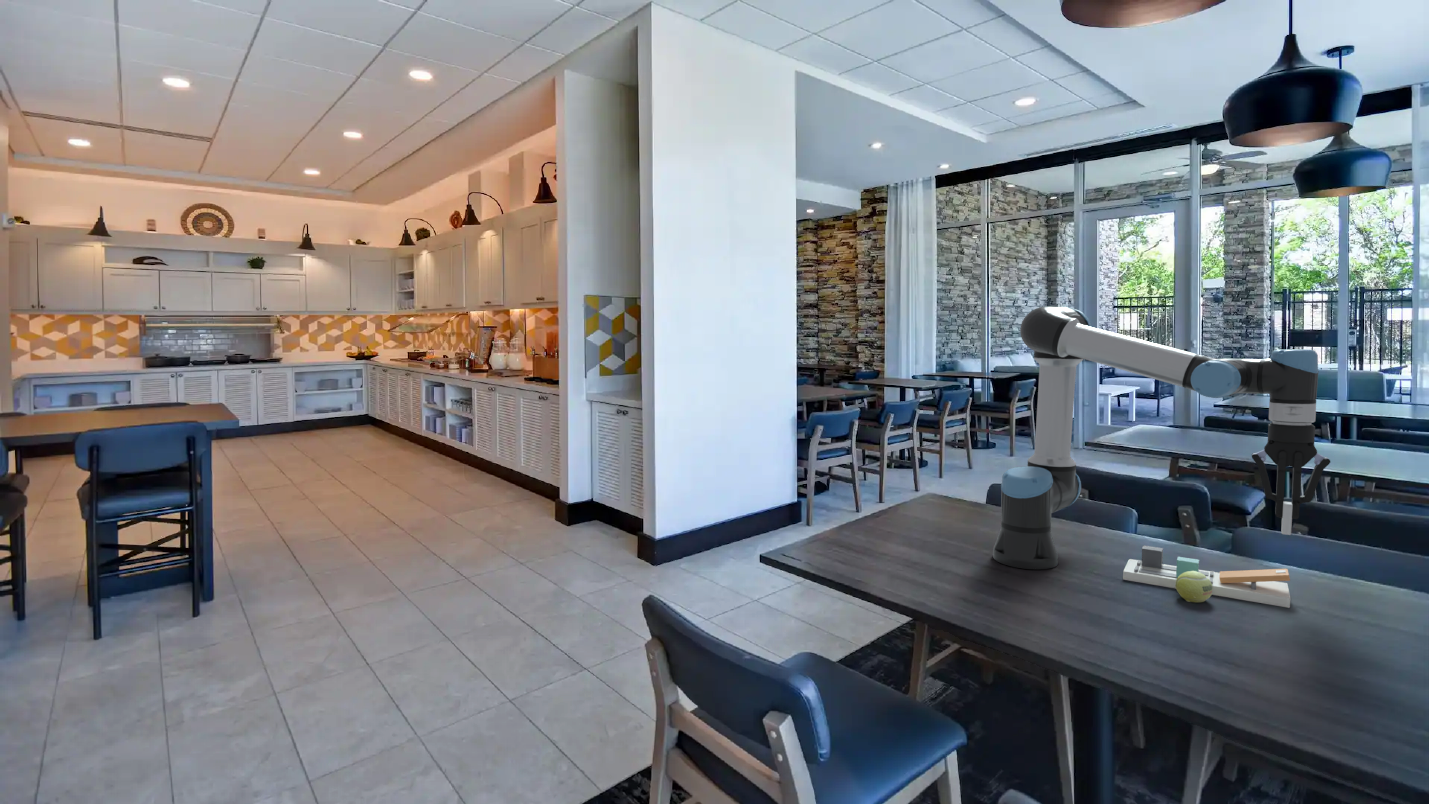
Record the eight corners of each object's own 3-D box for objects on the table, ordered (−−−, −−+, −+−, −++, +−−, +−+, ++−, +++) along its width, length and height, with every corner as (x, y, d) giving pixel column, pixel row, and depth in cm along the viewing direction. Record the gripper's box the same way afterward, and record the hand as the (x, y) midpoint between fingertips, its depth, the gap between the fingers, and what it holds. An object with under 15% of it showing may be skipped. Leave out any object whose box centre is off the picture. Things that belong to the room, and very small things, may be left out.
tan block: (1220, 583, 151) (1219, 577, 151) (1221, 576, 155) (1219, 570, 155) (1290, 580, 143) (1288, 574, 143) (1288, 574, 147) (1287, 567, 147)
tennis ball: (1201, 576, 142) (1216, 569, 146) (1167, 572, 148) (1181, 566, 152) (1205, 607, 142) (1220, 599, 146) (1170, 601, 148) (1185, 594, 151)
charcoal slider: (1141, 564, 163) (1142, 548, 163) (1142, 561, 165) (1143, 545, 165) (1161, 568, 161) (1162, 551, 160) (1162, 564, 163) (1163, 548, 163)
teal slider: (1176, 577, 154) (1176, 560, 154) (1177, 573, 157) (1177, 556, 156) (1197, 580, 152) (1198, 563, 152) (1198, 576, 154) (1199, 559, 154)
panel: (1122, 579, 160) (1123, 565, 160) (1128, 566, 169) (1129, 553, 168) (1289, 607, 142) (1290, 592, 141) (1286, 592, 150) (1287, 577, 150)
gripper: (1252, 423, 144) (1247, 532, 146) (1335, 426, 136) (1329, 542, 138) (1251, 419, 150) (1247, 524, 152) (1331, 422, 142) (1325, 533, 144)
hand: (1286, 532), depth 145 cm, fingers closed
